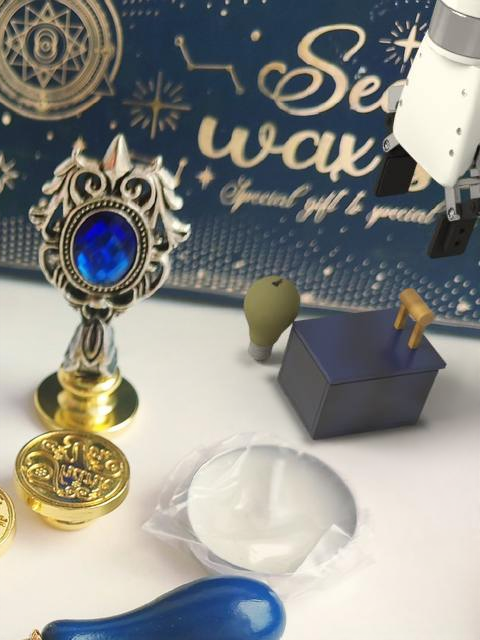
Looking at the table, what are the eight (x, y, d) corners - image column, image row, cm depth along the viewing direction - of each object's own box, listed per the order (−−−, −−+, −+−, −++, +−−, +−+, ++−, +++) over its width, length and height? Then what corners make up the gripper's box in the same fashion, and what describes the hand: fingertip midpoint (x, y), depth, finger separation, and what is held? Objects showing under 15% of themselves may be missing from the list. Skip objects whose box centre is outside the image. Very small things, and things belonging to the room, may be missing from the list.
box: (375, 366, 114) (395, 312, 109) (416, 424, 108) (439, 370, 103) (276, 380, 113) (291, 326, 108) (312, 439, 107) (330, 385, 102)
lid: (400, 311, 109) (415, 269, 106) (445, 368, 103) (462, 327, 100) (291, 325, 108) (302, 284, 104) (330, 385, 102) (343, 343, 98)
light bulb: (277, 381, 113) (298, 303, 105) (225, 366, 114) (243, 288, 107) (290, 350, 116) (312, 273, 109) (239, 336, 118) (258, 259, 110)
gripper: (596, 72, 76) (509, 275, 89) (469, -25, 87) (407, 167, 100) (499, 84, 75) (425, 287, 87) (383, -15, 86) (332, 177, 99)
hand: (416, 223), depth 94 cm, fingers open, 9 cm apart
